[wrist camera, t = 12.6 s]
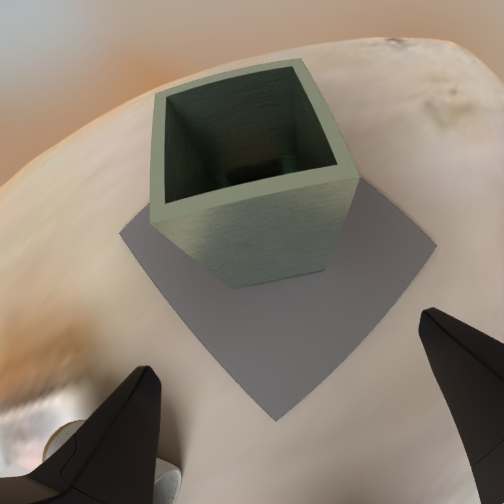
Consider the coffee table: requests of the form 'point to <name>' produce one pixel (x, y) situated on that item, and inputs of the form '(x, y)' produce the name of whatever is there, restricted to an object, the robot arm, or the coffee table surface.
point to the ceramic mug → (164, 473)
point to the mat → (291, 300)
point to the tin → (250, 173)
